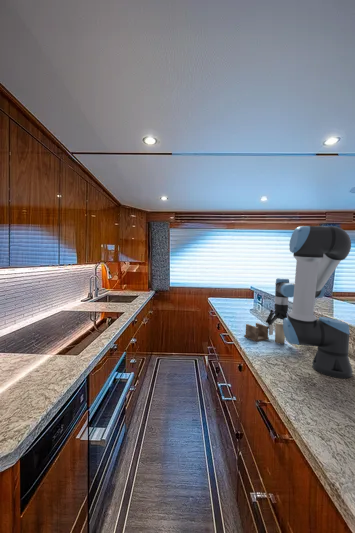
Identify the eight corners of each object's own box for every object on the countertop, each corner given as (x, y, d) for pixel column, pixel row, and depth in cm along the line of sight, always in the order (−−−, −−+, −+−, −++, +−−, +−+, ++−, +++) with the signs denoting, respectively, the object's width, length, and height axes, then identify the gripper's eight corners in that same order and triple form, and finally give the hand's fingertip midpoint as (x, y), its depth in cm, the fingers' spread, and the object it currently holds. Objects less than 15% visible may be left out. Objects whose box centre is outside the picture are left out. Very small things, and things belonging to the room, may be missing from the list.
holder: (268, 339, 146) (269, 326, 146) (256, 341, 141) (256, 328, 141) (256, 334, 155) (257, 322, 155) (244, 336, 150) (244, 324, 150)
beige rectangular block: (286, 343, 141) (287, 324, 141) (280, 344, 138) (281, 325, 138) (278, 340, 146) (279, 322, 145) (272, 341, 143) (273, 323, 143)
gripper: (304, 307, 132) (302, 344, 133) (269, 300, 154) (267, 331, 155) (295, 308, 129) (294, 345, 129) (261, 300, 151) (259, 332, 151)
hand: (279, 338), depth 142 cm, fingers open, 13 cm apart
